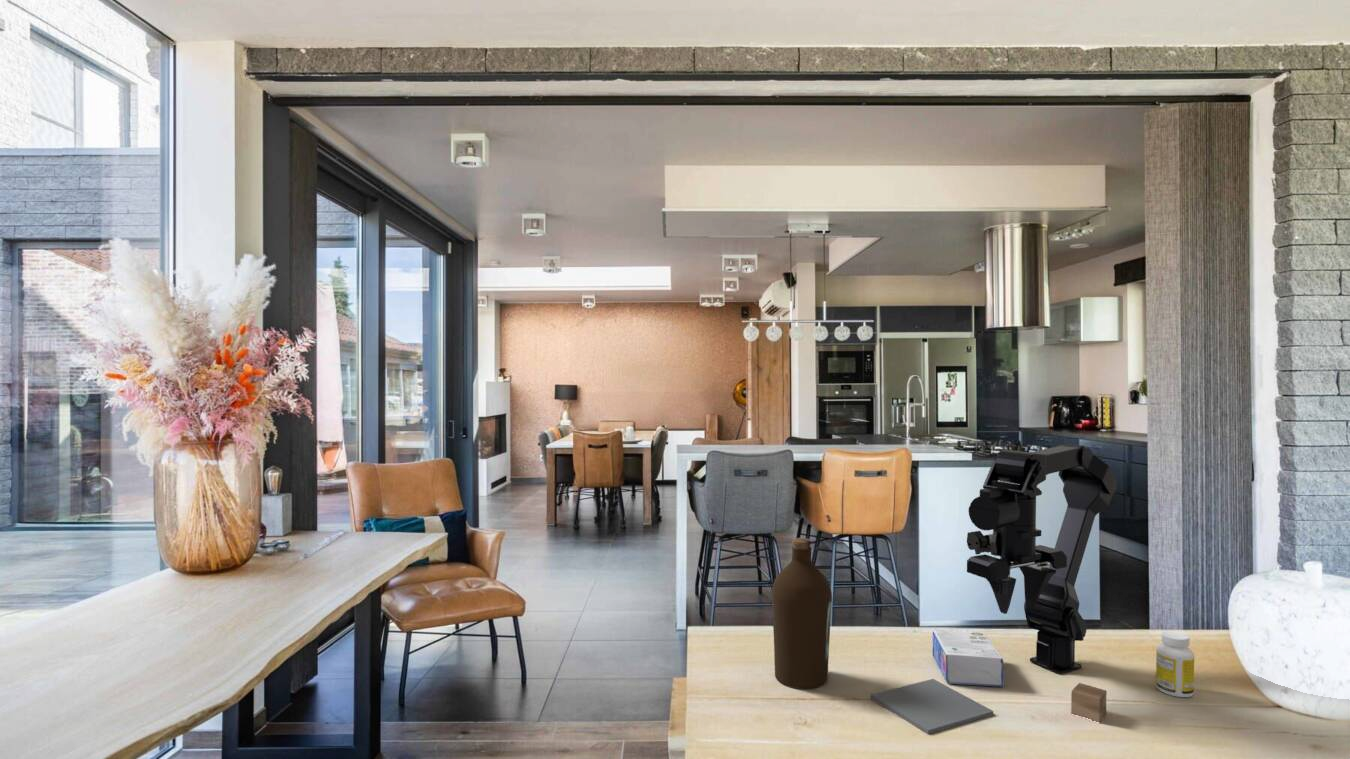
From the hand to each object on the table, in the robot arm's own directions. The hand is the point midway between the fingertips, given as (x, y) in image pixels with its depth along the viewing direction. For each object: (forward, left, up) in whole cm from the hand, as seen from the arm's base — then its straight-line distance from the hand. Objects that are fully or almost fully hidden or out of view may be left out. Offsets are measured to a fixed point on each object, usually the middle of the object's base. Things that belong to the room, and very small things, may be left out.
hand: (1016, 610), depth 129 cm
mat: (+20, 0, -13) cm, 24 cm away
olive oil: (+33, -18, -13) cm, 40 cm away
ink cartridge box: (+8, -2, -10) cm, 13 cm away
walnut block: (-1, +13, -13) cm, 18 cm away
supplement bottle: (-22, +14, -13) cm, 29 cm away
